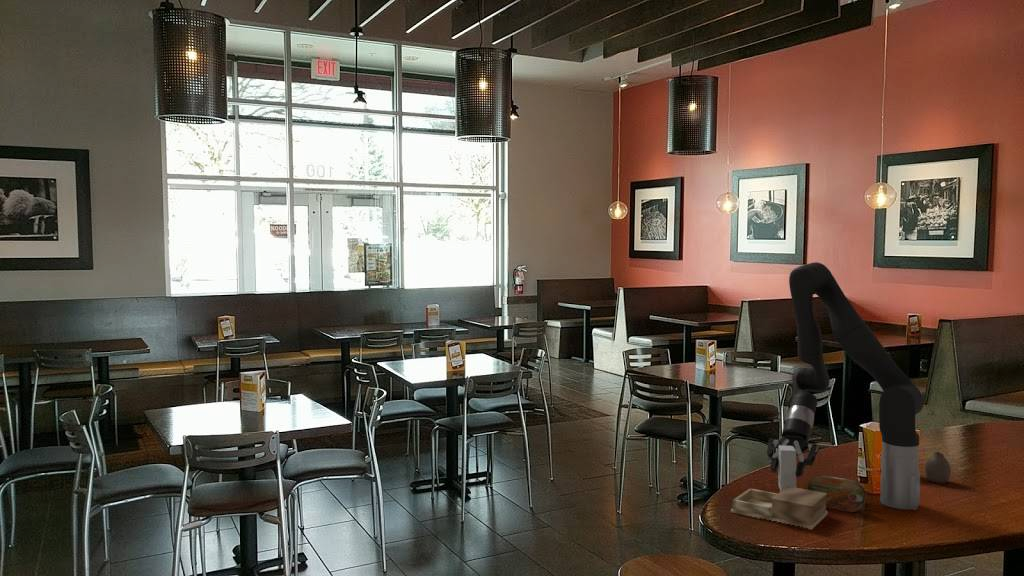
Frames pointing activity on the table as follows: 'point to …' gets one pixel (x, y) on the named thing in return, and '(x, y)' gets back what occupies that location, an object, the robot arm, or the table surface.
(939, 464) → the vase
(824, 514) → the organizer tray
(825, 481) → the tin
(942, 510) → the table surface
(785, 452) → the skincare box
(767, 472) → the table surface
